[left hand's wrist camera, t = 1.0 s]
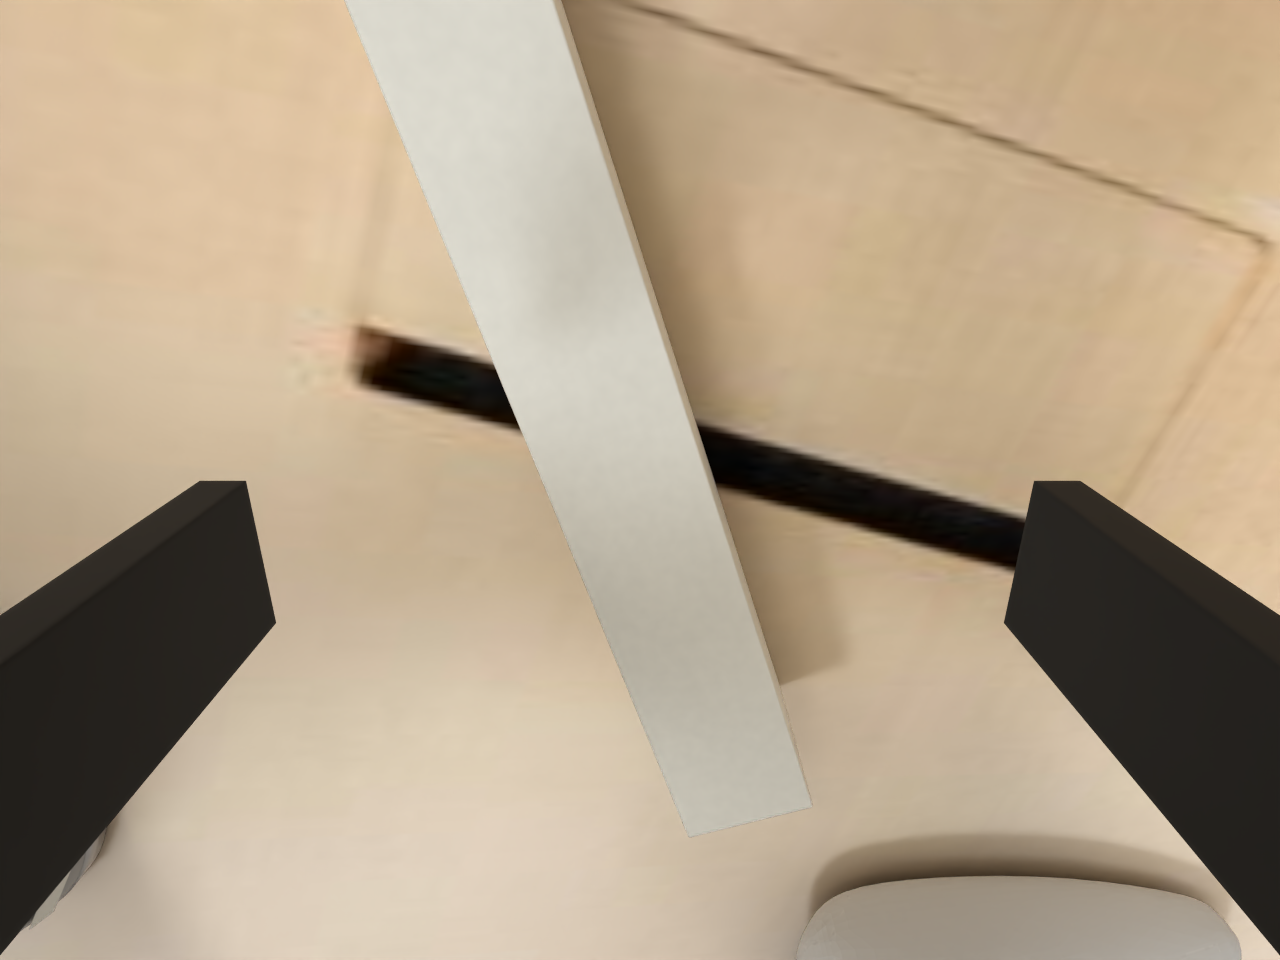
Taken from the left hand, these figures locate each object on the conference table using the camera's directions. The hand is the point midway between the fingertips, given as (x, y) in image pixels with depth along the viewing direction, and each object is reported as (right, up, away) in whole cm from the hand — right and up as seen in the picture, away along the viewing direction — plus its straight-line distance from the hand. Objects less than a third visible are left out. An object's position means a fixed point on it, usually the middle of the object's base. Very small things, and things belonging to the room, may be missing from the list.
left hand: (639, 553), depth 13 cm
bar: (-8, +24, +10) cm, 27 cm away
